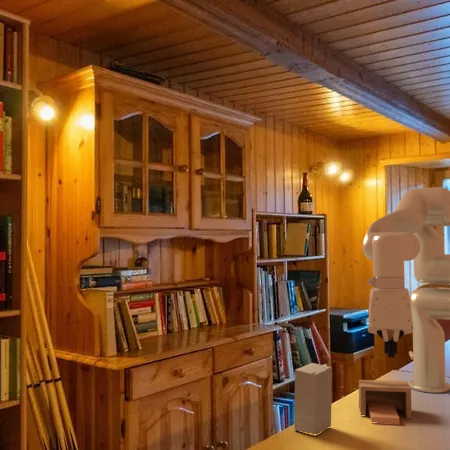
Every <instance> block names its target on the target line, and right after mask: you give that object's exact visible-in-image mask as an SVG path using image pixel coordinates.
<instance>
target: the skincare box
mask: <svg viewBox="0 0 450 450" xmlns="http://www.w3.org/2000/svg"><path fill="white" fill-rule="evenodd" d="M332 379H333V367H332V366H328V365H322V364H318V363H315V362H311V363H307V364H306V365H304V366H301V367H298V368H296V369H295V370H294V431H295V430H297V431H302V432H307V433H312V434H318V433H320V432H321V431H323V430H325V429H326V428H328V427H330V426H331V427H332V391H333V389H332V385H333V384H332V383H333V382H332ZM331 427H330V428H331ZM325 431H326V430H325Z"/></svg>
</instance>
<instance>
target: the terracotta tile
mask: <svg viewBox="0 0 450 450" xmlns="http://www.w3.org/2000/svg"><path fill="white" fill-rule="evenodd" d="M367 408H368V409H367V412H369V413H368V416H369V415H370V417H369V420H370V419H371V420H370V423H371V422H377V423H390V424H389V425H395V424H399V425H400V416H399V415H398V411H397V410H396V409H395V407H394V405H393V404H384V403H367ZM391 423H392V424H391Z"/></svg>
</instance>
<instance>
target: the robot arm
mask: <svg viewBox="0 0 450 450" xmlns="http://www.w3.org/2000/svg"><path fill="white" fill-rule="evenodd" d="M434 227H450V189H448V188H446V187H442V186H439V187H420V188H418V187H416V188H411V189H408V190H406V191H405V192H404V193H403V194H402V196H401V198H400V200H399V202H398V204H397V207H396V208H395V210H393V211H392V212H390V213H388V214H386V215H384V216H382V217H380V218H378V219H377V220H374V222H372V223H371V224H370V225H369V227H368V229H367V231H366V233H365V235H364V237H363V240H362V252H363V254H364V256H365V258H367V259H368V260H370V261H372V275H373V276H372V277H371V278H367V279H366V281H367V285H371V286H373V287H372V288H370V292H369V300H368V328H367V332H368V333H370V334H375V335H377V336H378V337H380V338H381V340H383V353H384V354H385V355H386V357H387V358H389V359H391V358H393V359H395V357H396V354H398V341H399V340H400V339H401V338H402V337H403V336H404V335H409V334H412V350H413V351H412V353H413V355H412V360H413V364H412V365H413V379H411V380H410V381H408V384H409V386H410V388H411V390H415V391H418V392H423V393H424V392H425V393H431V394H432V393H437V394H438V393H447V392H449V391H450V383H448V382H446V344H445V343H446V339H445V337H446V336H445V331H444V329H443V327H442V326H441V325H440V323H439V322H438V320H447V321H449V320H450V288H437V287H435V288H434V287H433V288H432V287H420V288H416V289H414V290H413V291H411V292H410V291H409V289H408V288H405V287H406V286H405V285H406V283H405V282H406V281H405V280H406V278H405V262H410V261H413V274H414V278H415V280H416V281H417V282H418V283H421V284H427V285H428V284H429V285H449V286H450V253H449V254H448V253H446V254H445V253H444V254H443V251H442V250H443V249H442V248H443V247H442V244H443V243H442V242H443V241H442V236H440V234H439V232H438V231H437V230H436V229H435V228H434ZM388 331H392V334H391V337H389V334H388Z"/></svg>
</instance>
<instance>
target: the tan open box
mask: <svg viewBox="0 0 450 450" xmlns="http://www.w3.org/2000/svg"><path fill="white" fill-rule="evenodd" d="M367 403H384V404H393V405H394V407H395V409H399V410H398V411H402V412H403V411H404V412H403V413H405V414H404V416H405V415H406V416H405V418H406V419H407V418H412V388H410V386H409V382H408V381H406V380H405V381H403V380H402V381H401V380H374V379H373V380H370V379H368V380H367V379H358V409H359V408H360V409H359V413H360V412H361V414H360V416H361V415H366V416H367V412H366V410H367V409H366V408H367Z"/></svg>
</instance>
